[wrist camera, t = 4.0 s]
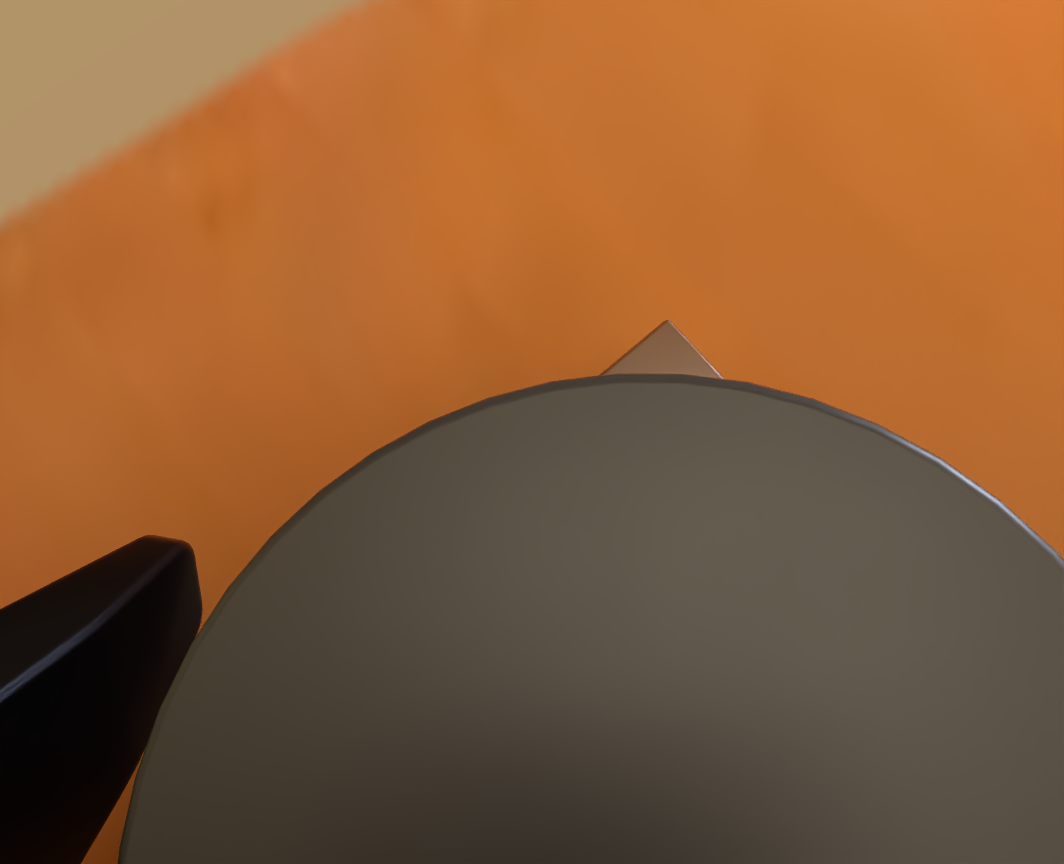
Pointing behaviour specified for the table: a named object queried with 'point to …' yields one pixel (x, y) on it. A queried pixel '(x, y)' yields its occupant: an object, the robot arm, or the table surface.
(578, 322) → the table surface
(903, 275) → the table surface
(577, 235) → the table surface
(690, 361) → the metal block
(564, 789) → the cap
